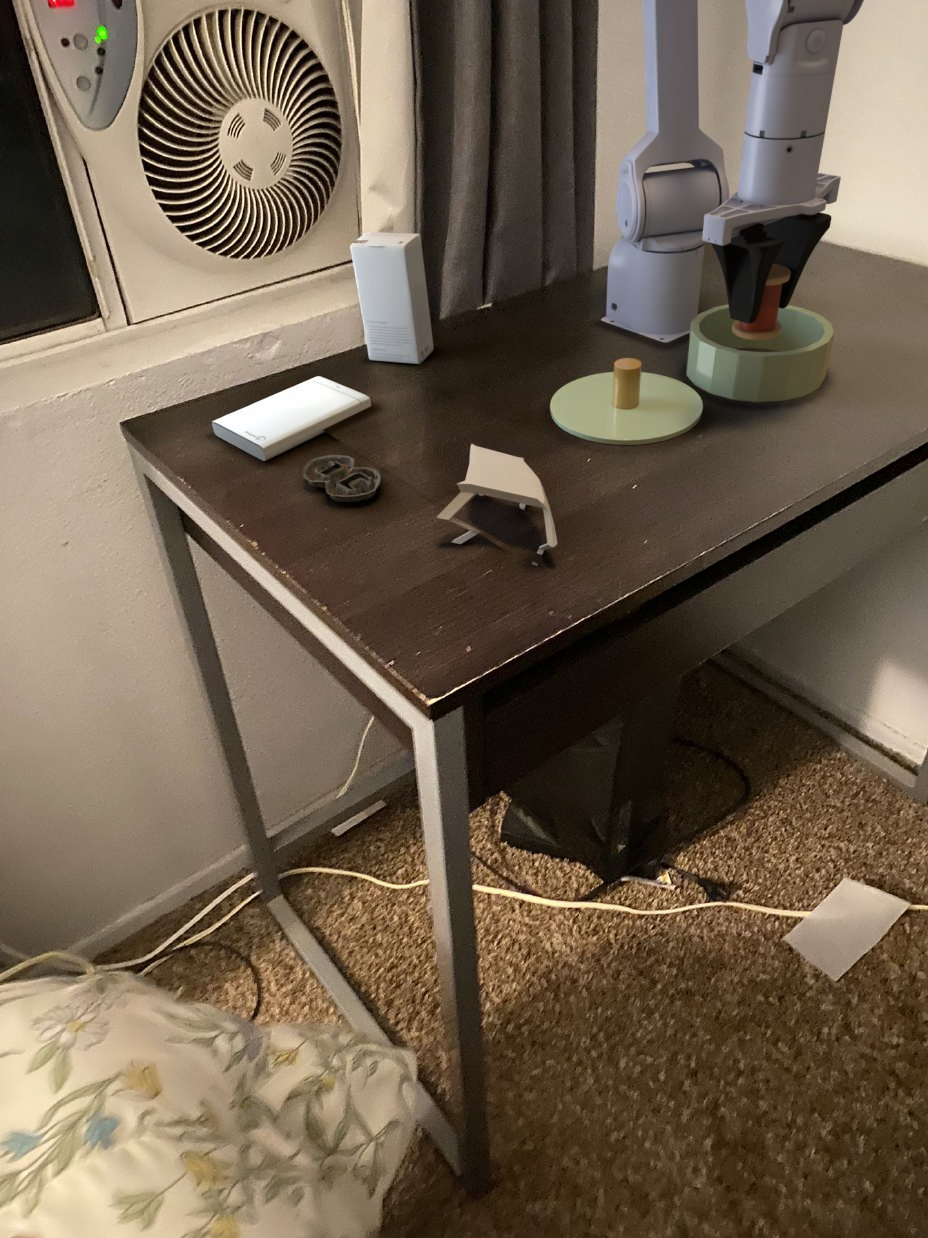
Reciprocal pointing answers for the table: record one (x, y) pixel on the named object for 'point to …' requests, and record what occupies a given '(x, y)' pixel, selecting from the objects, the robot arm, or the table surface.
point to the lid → (626, 406)
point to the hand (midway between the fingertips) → (758, 312)
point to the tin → (759, 356)
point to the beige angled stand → (499, 490)
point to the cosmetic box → (393, 296)
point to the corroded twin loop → (342, 478)
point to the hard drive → (289, 417)
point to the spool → (766, 309)
